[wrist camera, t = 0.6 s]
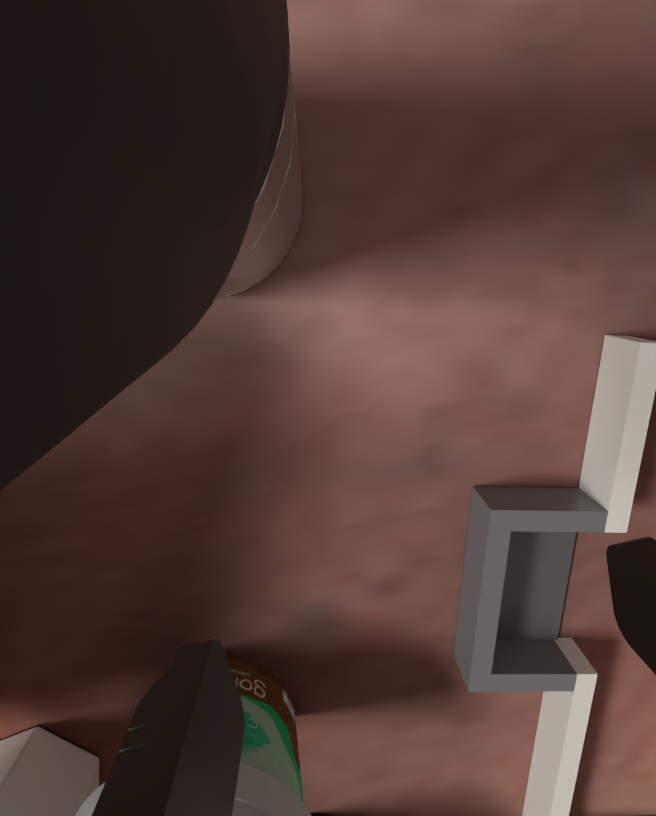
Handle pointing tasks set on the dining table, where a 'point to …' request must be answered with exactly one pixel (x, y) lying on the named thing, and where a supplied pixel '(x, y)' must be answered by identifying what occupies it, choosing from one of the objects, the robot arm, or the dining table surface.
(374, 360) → the dining table surface
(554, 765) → the track
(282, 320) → the dining table surface
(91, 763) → the jar
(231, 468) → the dining table surface
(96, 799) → the food container
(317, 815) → the coffee mug
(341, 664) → the dining table surface
